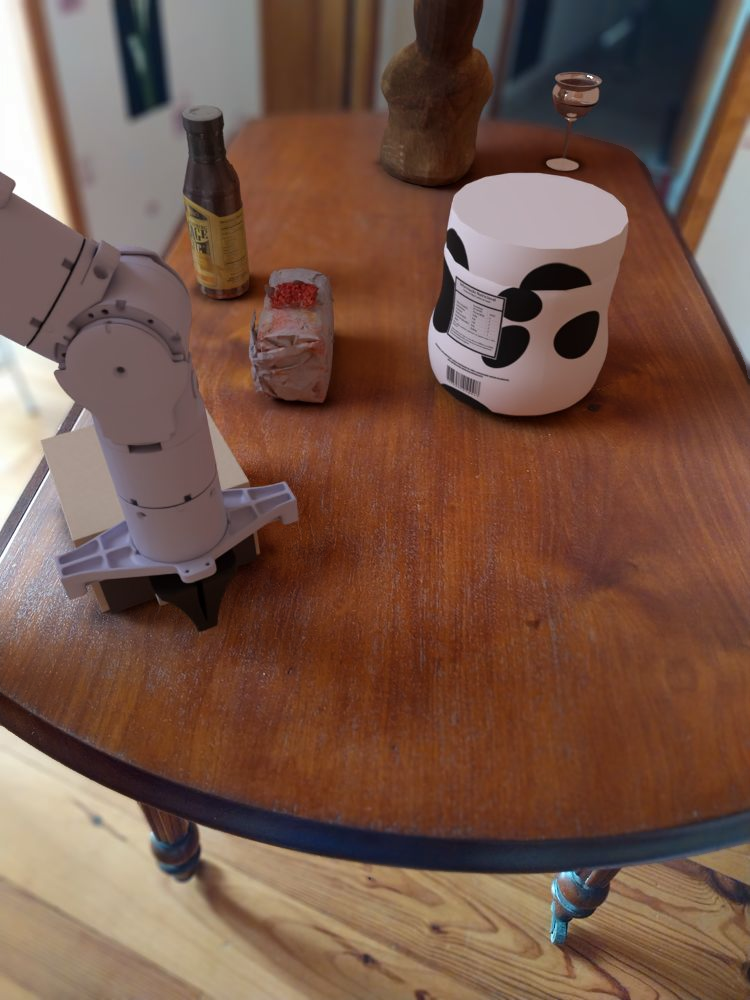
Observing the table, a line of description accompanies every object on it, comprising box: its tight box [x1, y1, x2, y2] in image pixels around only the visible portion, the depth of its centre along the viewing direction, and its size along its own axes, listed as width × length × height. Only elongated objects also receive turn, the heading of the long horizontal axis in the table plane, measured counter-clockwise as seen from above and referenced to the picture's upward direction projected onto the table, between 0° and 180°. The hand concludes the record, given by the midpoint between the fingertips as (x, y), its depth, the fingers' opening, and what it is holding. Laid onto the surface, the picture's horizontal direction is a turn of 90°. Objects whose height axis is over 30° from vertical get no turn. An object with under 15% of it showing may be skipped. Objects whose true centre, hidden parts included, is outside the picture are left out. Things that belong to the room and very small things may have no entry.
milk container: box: [427, 172, 629, 418], centre depth 71 cm, size 17×17×18 cm
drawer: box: [99, 533, 258, 615], centre depth 56 cm, size 14×11×6 cm
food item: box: [248, 267, 335, 404], centre depth 74 cm, size 14×8×10 cm, turn 1°
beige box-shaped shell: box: [39, 406, 261, 613], centre depth 59 cm, size 12×13×8 cm
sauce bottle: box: [181, 104, 251, 300], centre depth 82 cm, size 7×6×20 cm
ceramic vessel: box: [379, 0, 495, 187], centre depth 102 cm, size 16×22×30 cm
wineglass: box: [546, 71, 603, 172], centre depth 112 cm, size 7×7×12 cm
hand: (204, 618), depth 52 cm, fingers closed, pressing on drawer
